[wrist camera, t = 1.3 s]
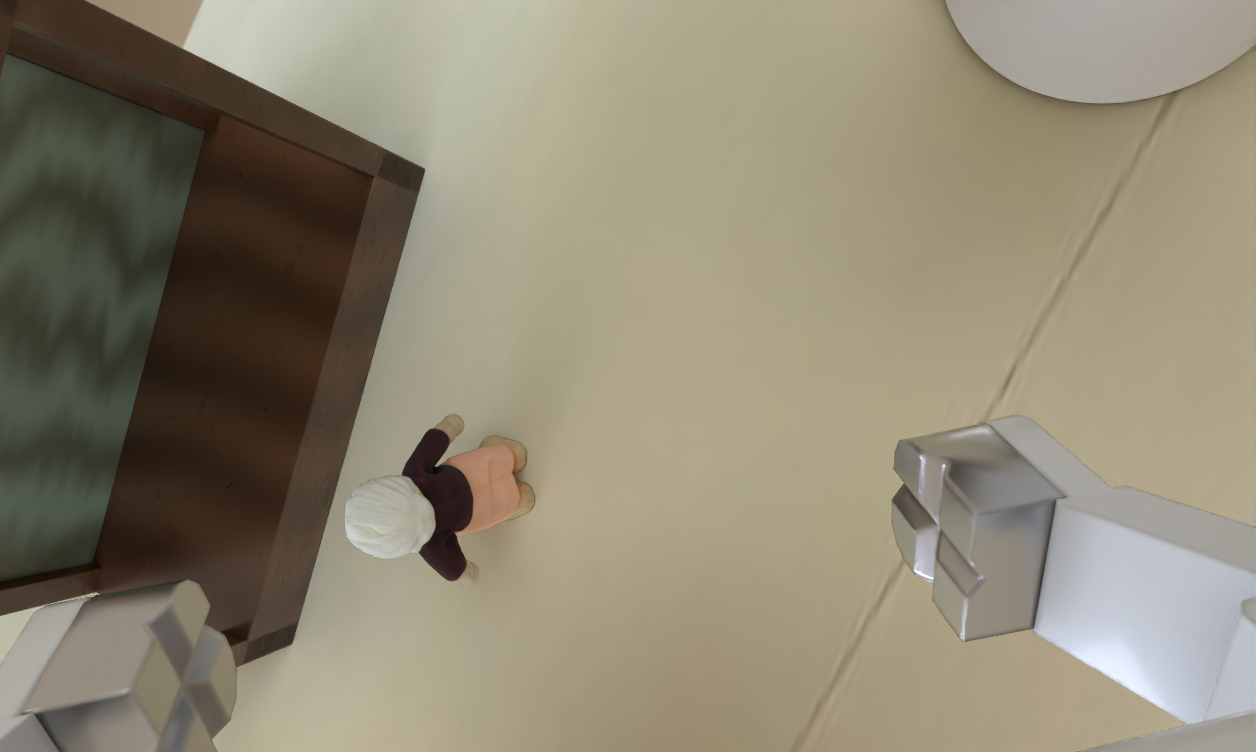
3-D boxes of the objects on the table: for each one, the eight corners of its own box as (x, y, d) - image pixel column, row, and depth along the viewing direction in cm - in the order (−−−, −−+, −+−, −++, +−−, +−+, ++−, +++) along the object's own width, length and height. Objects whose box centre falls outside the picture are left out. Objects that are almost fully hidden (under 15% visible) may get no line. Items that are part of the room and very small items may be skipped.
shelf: (254, 123, 49) (-289, -112, 26) (425, 168, 46) (-30, -58, 23) (137, 569, 51) (-467, 708, 28) (292, 644, 47) (-252, 873, 25)
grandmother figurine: (455, 430, 45) (296, 443, 33) (516, 406, 44) (375, 411, 32) (498, 568, 44) (350, 635, 32) (562, 547, 43) (434, 608, 31)
